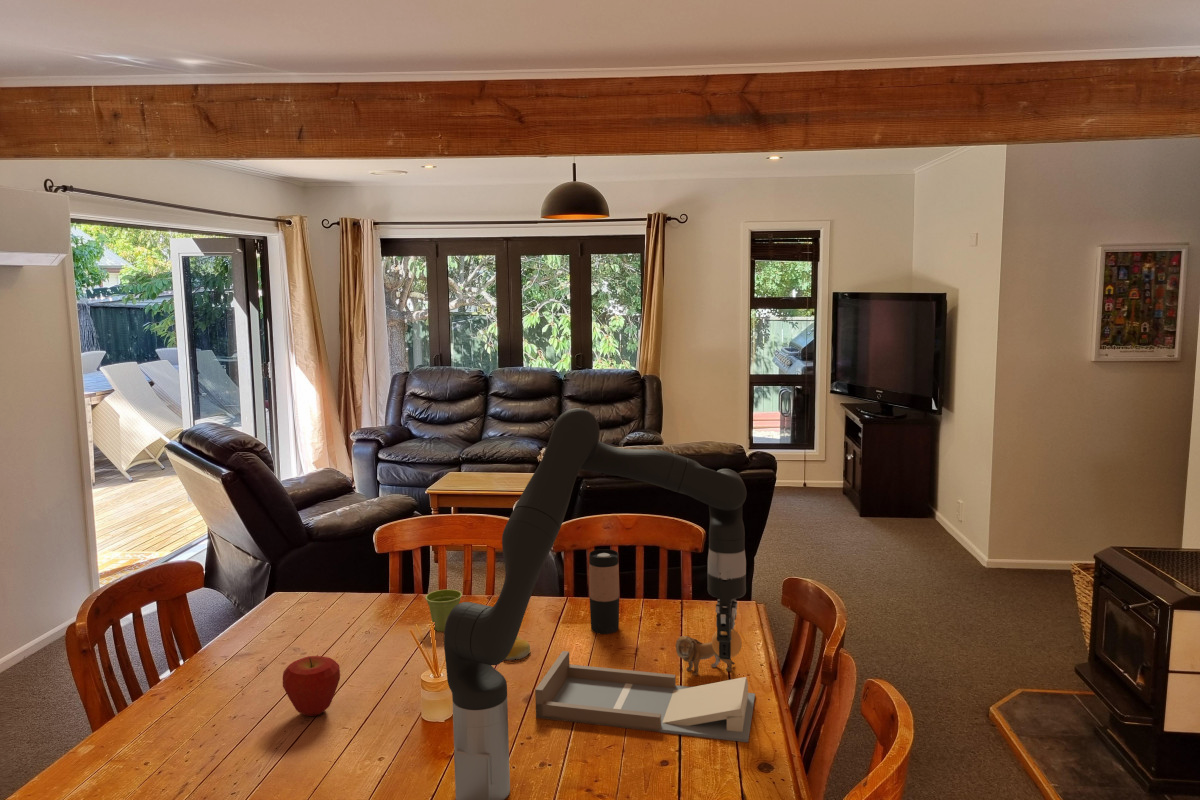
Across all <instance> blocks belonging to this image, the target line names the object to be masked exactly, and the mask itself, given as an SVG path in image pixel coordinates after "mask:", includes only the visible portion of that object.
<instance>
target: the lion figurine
mask: <svg viewBox="0 0 1200 800" xmlns="http://www.w3.org/2000/svg"><path fill="white" fill-rule="evenodd" d="M675 651H676V652H675V653H676V654H677V656H678V657H679V658H680V659H682V660H683V661H684V662H685V663H686V662H687V663H688V664H687V665H688V666H687V667H686V672H687V671H688V672H690V671H692V669H693V671H692V676H698V674H699V665H700V661H702V660H707V659H711V658H712V657H713V656H714V657H715V662H714V663H711V664H710V667H711V668H717V667H718V665H719V664H720V663H721V662H723V663H725V664H726V665H727V667H726V668H725V671H726V672H731V671H732V670H733V666H734V665H735V664H736V663H735V662H734V661H733V660H732V658H730V659H721V658H720V657H719V655H717V654H716V653H715V651H714V650H713V647H712V641H709V642H704V643H703V642H701V641H699V640H698V639H696V638H692V637H690V636H687V635H684V636H683V635H682V636H679V637H678V639H677V640H676V643H675ZM732 665H733V666H732Z"/></svg>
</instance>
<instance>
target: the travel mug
mask: <svg viewBox="0 0 1200 800" xmlns="http://www.w3.org/2000/svg"><path fill="white" fill-rule="evenodd" d="M588 558H589V559H588V560H589V561H588V563H589V566H588V569H589V571H588V572H589V573H588V574H589V575H588V576H589V577H588V578H589V581H588V582H589V587H588V588H589V589H588V590H589V614H590V629H592V630H593V631H594V633H595V632H596V633H595V634H598V633H600V634H601V635H609V634H614V633H616V632H618V631H619V627H620V626H619V625H620V575H619V573H620V570H619V568H620V567H619V565H620V564H619V562H620V561H619V552H618V551H616V550H614V549H611V548H610V549H607V548H604V549H603V548H602V549H595V550H591V551H590V552H589V555H588ZM592 630H591V631H592ZM617 630H618V631H617ZM593 631H592V632H593ZM600 634H599V635H600Z"/></svg>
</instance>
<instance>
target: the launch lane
mask: <svg viewBox="0 0 1200 800" xmlns="http://www.w3.org/2000/svg"><path fill="white" fill-rule="evenodd" d="M676 683H677V682H676V674H672V673H661V672H660V673H659V672H651V671H650V672H649V671H642V670H641V671H640V670H633V669H621V668H620V669H619V668H612V667H611V668H610V667H601V666H600V667H599V666H589V665H579V664H572V663H571V664H570V651H568V650H567V651H566V650H562V651H561V653H560V654H559V655H558V657H557V658H556V660H555V661H554V663H552V666H551V667H550V668H549V669H548V671H547V672H546V674H545V675H544V677H543V678H542V679H541V681H540V683H539V684H538V685H537V686H536V687H535V691H534V692H535V693H534V696H535V719H545V720H552V721H553V720H554V721H561V722H571V723H578V724H579V723H580V724H588V725H595V726H596V725H597V726H604V727H611V728H612V727H615V728H621V729H622V728H623V729H630V730H639V731H646V732H647V731H648V732H656V733H665V734H672V735H680V736H681V735H682V736H690V737H691V736H692V737H698V738H709V739H715V740H725V741H733V742H741V743H749V739H750V732H751V726H752V718H753V712H754V705H755V700H756V698H755V697H756V693H754V692H749V682H748V678H747V677H746V676H744V677H738V678H737V677H736V678H734V679H733V678H732V679H728V680H722V681H718V682H712V683H706V684H701V685H697V686H686V685H677V684H676Z"/></svg>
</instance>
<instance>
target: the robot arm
mask: <svg viewBox="0 0 1200 800" xmlns="http://www.w3.org/2000/svg"><path fill="white" fill-rule="evenodd" d="M600 433H601V431H600V424H599V422H598V420H597V418H596V417H595V415H594V414H593V413H592V412H591V411H589V410H588V409H585V408H581V407H580V408H579V407H577V408H571V409H568V410H566V411H565V412H563V413H561V414H560V415H559V416H558V417H557V418H556V421H555V422H554V424H553V427H552V430H551V435H550V437H549V440H548V443H547V445H546V449H545V450H544V454H543V456H542V458H541V460H540V462H539V465H538V466H537V468H536V470H535V471H534V473H533V475H532V476H531V478H530V480H529V481H528V482H527V484H526V486H525V488H524V490H523V491H522V494H521V495H520V497H519V498H518V500H517V503H516V504H515V505H514V508H513V510H512V512H511V514H510V517H509V518H508V519H507V520H508V521H507V522H506V524H505V526H504V529H503V532H502V534H501V535H502V537H501V546H502V556H503V562H504V571H505V573H504V574H505V577H504V581H503V586H502V588H501V591H500V593H499V596H498V598H497V600H496V602H495V604H494V605H493V606H491V605H486V604H482V603H476V602H472V601H464V602H459V604H458V605H456V606H455V607H454V608H453V609H452V610H451V612H450V614H449V616H448V618H447V621H446V625H445V631H443V633H444V634H443V647H444V657H445V667H446V668H445V670H446V680H447V685H448V687H449V690H450V691H451V694H452V695H451V696H452V723H453V747H454V749H453V750H454V752H453V753H454V754H453V760H454V761H453V762H454V785H455V787H454V789H455V800H505V799H507V798H508V796H509V795H510V792H511V783H510V782H511V776H510V748H509V747H510V746H509V745H510V742H509V741H510V740H509V718H508V717H509V715H508V714H509V709H508V708H509V707H508V706H509V705H508V703H509V702H508V683H507V680H506V677H505V676H504V675H503V674H502V673H501V672H499V671H498V670H497V669H495V667H494V666H498V665H500V664H502V663H503V662H504V661H506V660H505V658H506V657H507V656H508V654H509V653H510V651H511V649H512V647H513V645H514V643H515V640H516V638H517V637H518V634H519V631H520V629H521V626H522V624H523V620H524V617H525V614H526V611H527V607H528V605H529V602H530V599H531V596H532V594H533V591H534V588H535V585H536V584H537V581H538V578H539V577H540V574H541V571H542V569H543V567H544V564H545V562H546V560H547V559H548V556H549V554H550V552H551V550H552V548H553V545H554V544H555V541H556V539H557V536H558V535H559V532H560V530H561V528H562V525H563V522H564V520H565V517H566V513H567V510H568V507H569V505H570V500H571V497H572V493H573V489H574V485H575V482H576V479H577V476H578V475H579V472H580V471H589V472H595V473H599V474H600V473H601V474H606V475H611V476H617V477H622V478H627V479H631V480H636V481H640V482H643V483H646V484H647V483H648V484H650V485H654V486H656V487H660V488H663V489H666V490H669V491H672V492H676V493H679V494H683V495H686V496H688V497H691V498H693V499H695V500H696V501H698V502H701V503H703V504H706V505H708V511H709V512H708V513H709V529H708V554H707V592H708V595H710V596H711V597H713V598H716V599H717V600H716V604H715V613H716V616H715V618H716V620H715V621H716V623H715V627H716V631H717V641H719V657H720V658H721V659H730V657H731V640H732V637H731V631H732V629H734V630H735V626H736V622H735V621H736V620H737V613H738V612H737V611H738V600H737V599H741V598H743V597H744V596H745V595H746V593H747V559H746V558H747V557H746V550H745V549H746V548H745V547H746V546H745V545H746V544H745V542H746V538H745V536H746V534H745V531H746V530H745V525H744V520H743V505H744V503H745V502H746V498H747V495H748V494H747V488H746V485H745V482H744V481H743V479H742V477H741V475H740V474H739V473H737V472H736V471H735V470H732V469H730V468H721V469H718V470H717V471H716V470H715V469H711V468H707V467H705V466H702V465H701V464H700V463H699V462H698V461H696V460H694V459H691V458H688V457H685V456H682V455H679V454H676V453H673V452H670V451H666V450H661V449H654V448H651V449H649V448H623V447H617V446H614V445H610V444H608V443H604V442H602V441H600ZM721 631H724V632H727V635H722V634H721ZM721 659H720V660H721Z"/></svg>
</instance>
